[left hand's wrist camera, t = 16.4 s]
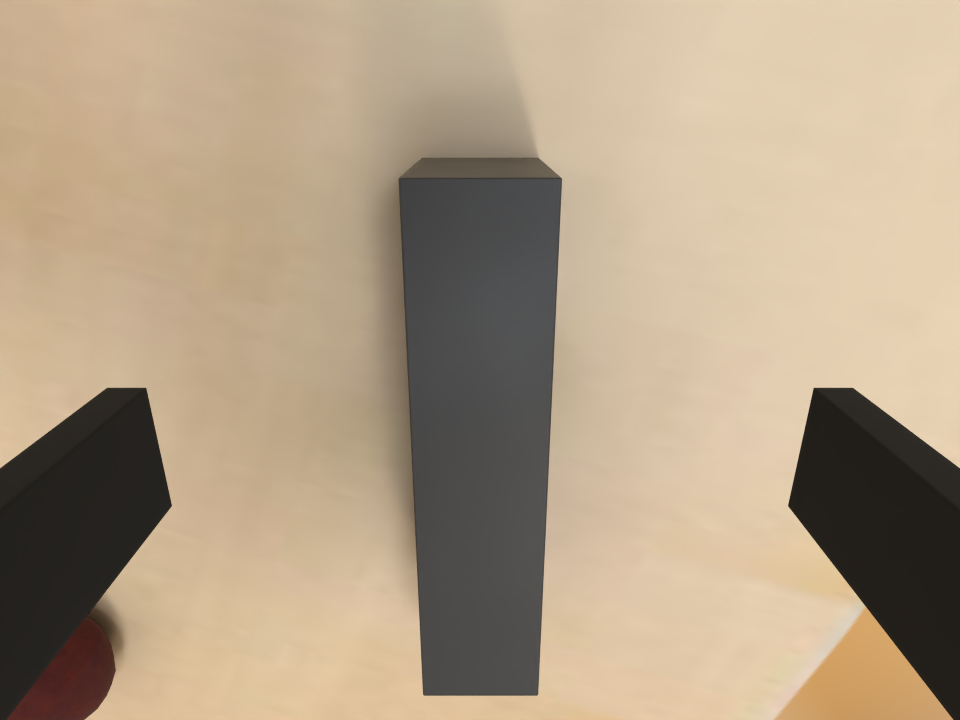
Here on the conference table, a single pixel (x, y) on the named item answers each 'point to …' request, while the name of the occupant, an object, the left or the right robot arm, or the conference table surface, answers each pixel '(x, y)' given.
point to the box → (480, 412)
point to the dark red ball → (72, 679)
